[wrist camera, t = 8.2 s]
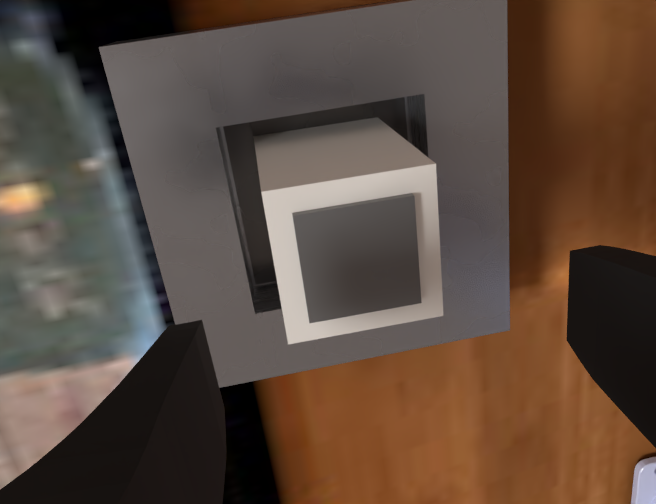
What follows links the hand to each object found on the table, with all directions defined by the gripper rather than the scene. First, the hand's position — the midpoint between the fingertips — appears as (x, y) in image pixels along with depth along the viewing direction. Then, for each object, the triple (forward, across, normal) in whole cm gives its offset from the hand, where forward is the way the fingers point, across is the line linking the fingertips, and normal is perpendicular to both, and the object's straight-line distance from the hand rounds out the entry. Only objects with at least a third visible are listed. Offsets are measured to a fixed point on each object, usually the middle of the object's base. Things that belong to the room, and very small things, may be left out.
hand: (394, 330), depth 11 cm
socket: (+10, 0, 0) cm, 10 cm away
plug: (+9, 0, 0) cm, 9 cm away
